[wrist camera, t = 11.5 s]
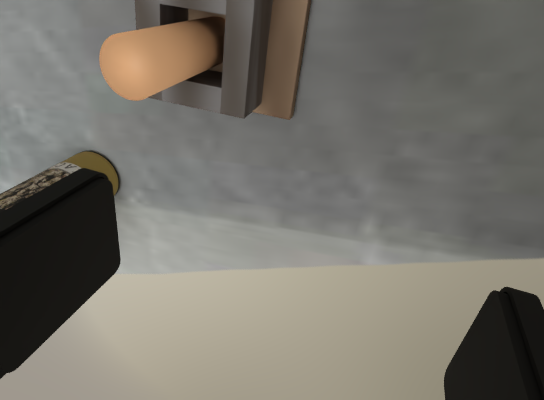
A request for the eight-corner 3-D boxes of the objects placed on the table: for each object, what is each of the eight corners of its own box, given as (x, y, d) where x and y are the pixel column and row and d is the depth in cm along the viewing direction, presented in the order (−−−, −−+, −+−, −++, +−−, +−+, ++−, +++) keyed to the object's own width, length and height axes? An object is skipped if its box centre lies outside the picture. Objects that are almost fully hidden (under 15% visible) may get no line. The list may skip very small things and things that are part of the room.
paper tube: (117, 205, 51) (-78, 360, 30) (73, 183, 51) (-151, 320, 30) (124, 164, 47) (-93, 306, 26) (76, 140, 48) (-176, 262, 27)
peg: (238, 19, 34) (156, 39, 22) (235, 66, 36) (158, 106, 24) (197, 12, 35) (96, 28, 23) (196, 58, 37) (102, 93, 25)
